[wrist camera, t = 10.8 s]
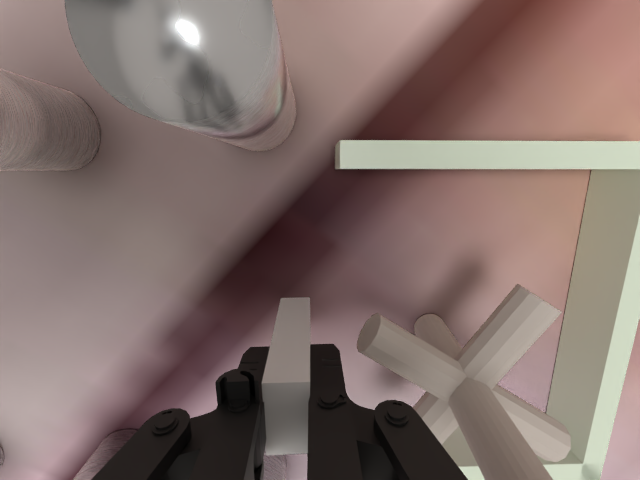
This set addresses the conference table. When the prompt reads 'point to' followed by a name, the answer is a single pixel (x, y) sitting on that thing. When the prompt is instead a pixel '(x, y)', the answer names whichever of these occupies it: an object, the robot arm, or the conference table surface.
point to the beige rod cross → (476, 384)
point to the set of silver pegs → (156, 97)
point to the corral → (585, 287)
